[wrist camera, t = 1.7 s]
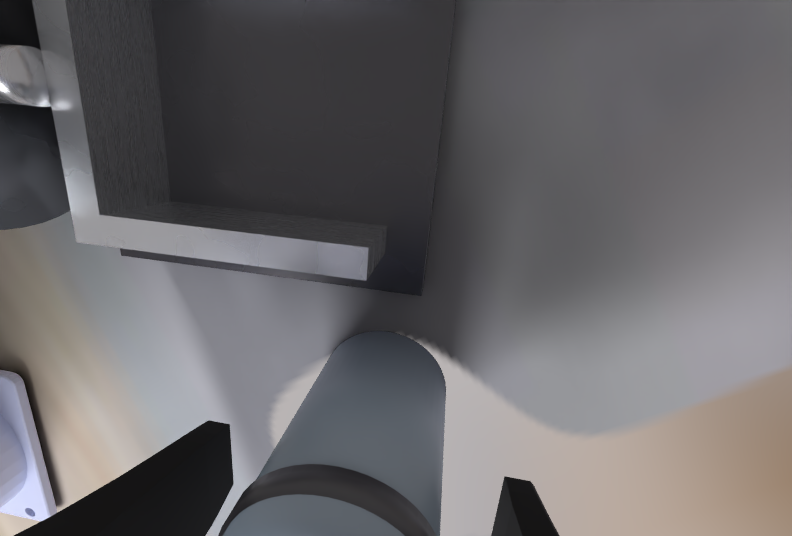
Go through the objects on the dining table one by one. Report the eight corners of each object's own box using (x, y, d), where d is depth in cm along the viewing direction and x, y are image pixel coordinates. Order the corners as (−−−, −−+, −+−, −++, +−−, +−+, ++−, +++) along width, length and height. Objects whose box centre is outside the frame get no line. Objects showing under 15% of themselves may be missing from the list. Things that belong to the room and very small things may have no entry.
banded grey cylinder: (320, 428, 15) (209, 658, 8) (323, 319, 13) (191, 491, 7) (440, 449, 14) (426, 716, 8) (456, 339, 13) (458, 547, 6)
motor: (-77, 220, 14) (-526, 282, 8) (-179, -112, 11) (-1068, -475, 5) (423, 286, 12) (385, 449, 6) (467, -103, 9) (498, -756, 3)
